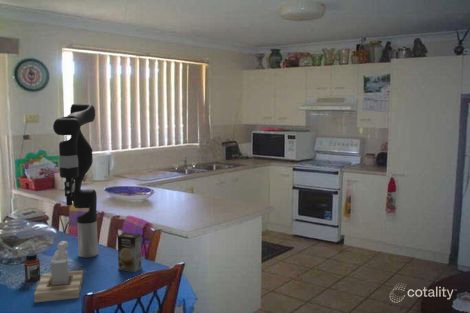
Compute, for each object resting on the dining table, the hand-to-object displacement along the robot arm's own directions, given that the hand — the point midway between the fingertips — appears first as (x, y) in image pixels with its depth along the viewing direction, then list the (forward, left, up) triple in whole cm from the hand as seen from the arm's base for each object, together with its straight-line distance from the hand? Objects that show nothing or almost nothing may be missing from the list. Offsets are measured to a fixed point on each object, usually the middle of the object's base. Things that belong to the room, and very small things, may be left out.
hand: (70, 203), depth 186 cm
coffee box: (-4, +24, -33) cm, 41 cm away
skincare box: (+12, -4, -33) cm, 36 cm away
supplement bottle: (-2, -17, -33) cm, 37 cm away
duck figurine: (-21, -8, -33) cm, 40 cm away
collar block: (+12, -4, -33) cm, 35 cm away
